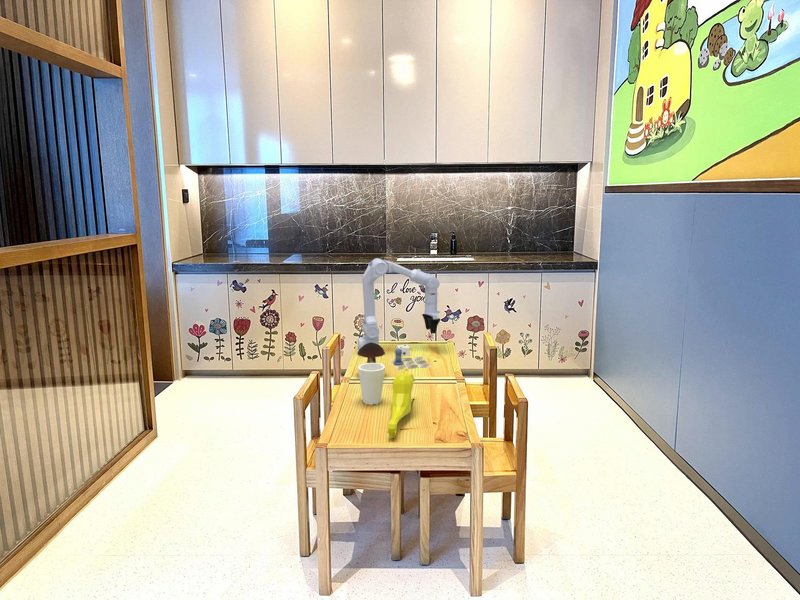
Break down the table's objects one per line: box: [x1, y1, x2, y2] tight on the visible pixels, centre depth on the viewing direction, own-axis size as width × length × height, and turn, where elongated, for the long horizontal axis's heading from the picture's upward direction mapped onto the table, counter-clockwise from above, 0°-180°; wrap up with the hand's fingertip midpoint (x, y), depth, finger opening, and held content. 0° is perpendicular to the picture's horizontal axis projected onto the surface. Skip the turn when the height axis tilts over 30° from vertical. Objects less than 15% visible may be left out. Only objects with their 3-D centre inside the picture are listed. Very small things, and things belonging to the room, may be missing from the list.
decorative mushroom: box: [356, 342, 386, 363], centre depth 225 cm, size 11×11×15 cm
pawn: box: [393, 348, 404, 366], centre depth 241 cm, size 4×4×7 cm
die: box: [395, 344, 411, 357], centre depth 255 cm, size 5×5×5 cm
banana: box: [386, 367, 416, 439], centre depth 188 cm, size 7×20×35 cm
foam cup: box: [358, 362, 386, 406], centre depth 202 cm, size 10×9×13 cm
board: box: [389, 356, 432, 370], centre depth 243 cm, size 15×15×1 cm
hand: (430, 331), depth 260 cm, fingers open, 7 cm apart
